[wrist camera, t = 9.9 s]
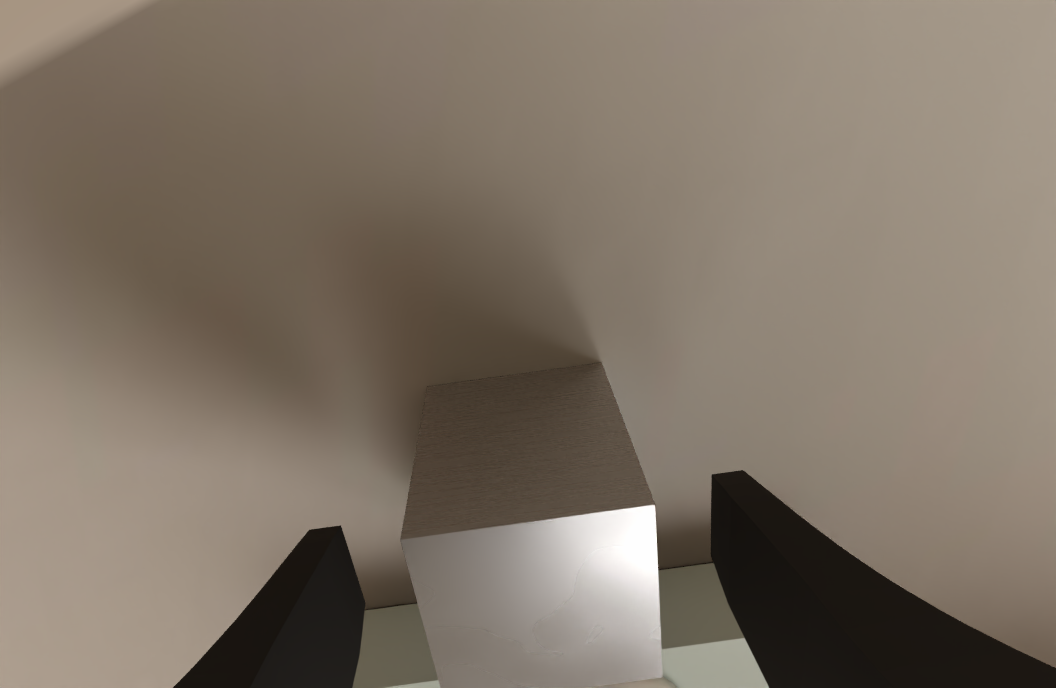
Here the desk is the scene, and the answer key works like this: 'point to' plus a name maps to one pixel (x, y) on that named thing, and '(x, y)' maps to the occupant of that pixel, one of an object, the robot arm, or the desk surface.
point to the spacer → (533, 535)
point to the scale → (687, 684)
